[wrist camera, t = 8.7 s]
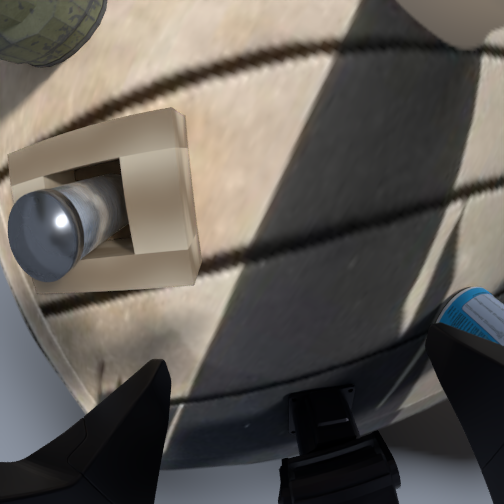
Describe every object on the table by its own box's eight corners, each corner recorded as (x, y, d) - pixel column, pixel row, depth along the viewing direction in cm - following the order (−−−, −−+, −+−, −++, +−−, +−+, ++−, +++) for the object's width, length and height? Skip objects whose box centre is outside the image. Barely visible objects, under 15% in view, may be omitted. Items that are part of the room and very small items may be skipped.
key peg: (143, 227, 20) (83, 280, 11) (92, 233, 20) (21, 283, 11) (134, 167, 18) (63, 183, 10) (83, 177, 18) (0, 201, 10)
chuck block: (201, 260, 21) (194, 285, 17) (62, 272, 21) (37, 294, 17) (185, 115, 18) (171, 107, 14) (39, 151, 17) (7, 154, 14)
